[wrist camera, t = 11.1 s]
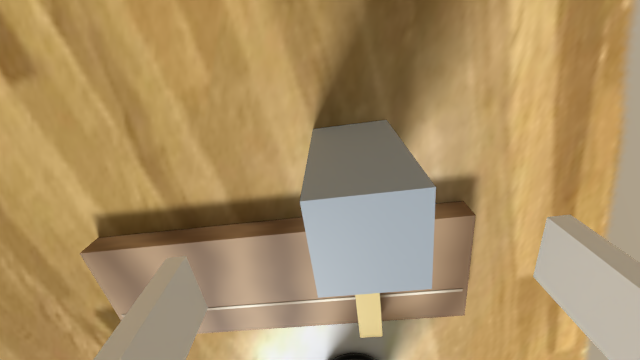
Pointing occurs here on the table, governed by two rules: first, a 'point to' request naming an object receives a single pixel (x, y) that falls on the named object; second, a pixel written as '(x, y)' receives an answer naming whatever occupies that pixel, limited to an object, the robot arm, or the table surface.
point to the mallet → (367, 217)
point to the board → (275, 273)
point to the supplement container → (354, 357)
